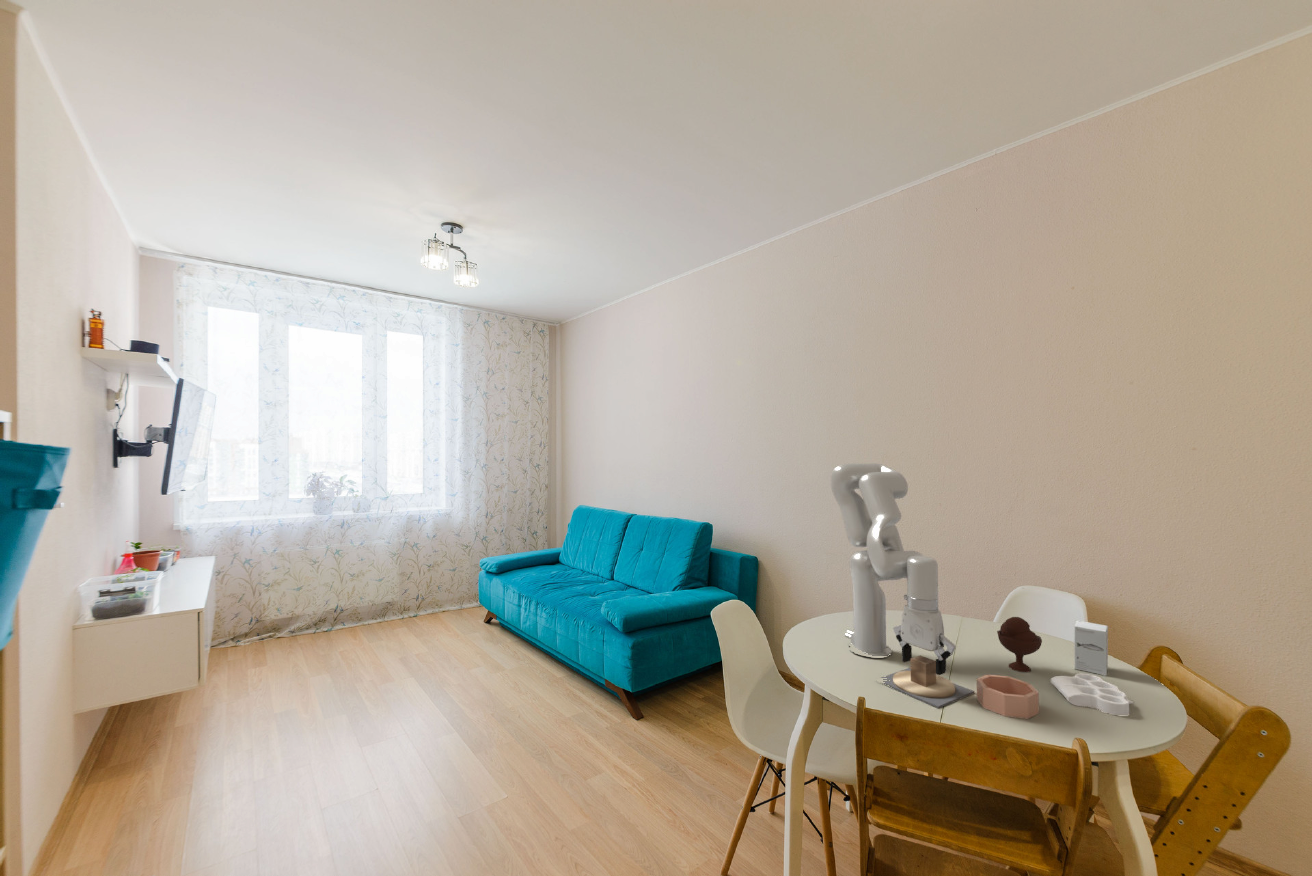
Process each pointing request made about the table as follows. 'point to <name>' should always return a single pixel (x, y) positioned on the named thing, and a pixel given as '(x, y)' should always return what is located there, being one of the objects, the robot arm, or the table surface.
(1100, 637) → the supplement box
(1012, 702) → the terracotta bowl
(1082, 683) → the white holed part
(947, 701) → the rubber mat
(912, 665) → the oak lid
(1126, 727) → the table surface
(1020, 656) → the ice cream bowl
